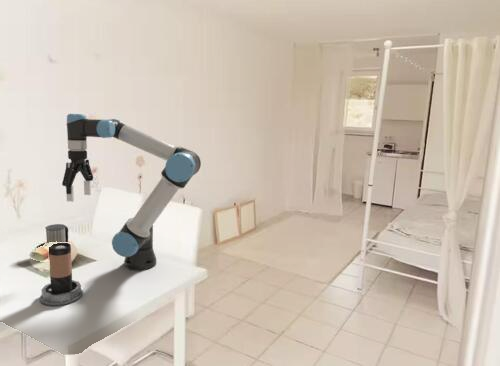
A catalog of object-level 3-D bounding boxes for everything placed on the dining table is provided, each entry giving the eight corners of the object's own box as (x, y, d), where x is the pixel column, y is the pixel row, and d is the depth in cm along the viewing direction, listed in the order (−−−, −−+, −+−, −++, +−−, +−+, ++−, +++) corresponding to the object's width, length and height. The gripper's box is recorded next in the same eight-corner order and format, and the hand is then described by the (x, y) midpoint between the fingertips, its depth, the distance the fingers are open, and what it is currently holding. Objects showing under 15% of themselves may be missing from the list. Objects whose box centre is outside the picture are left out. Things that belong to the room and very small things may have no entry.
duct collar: (87, 287, 156) (87, 279, 156) (75, 305, 142) (75, 296, 141) (49, 288, 155) (48, 279, 154) (33, 306, 140) (32, 296, 139)
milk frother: (64, 257, 187) (63, 229, 185) (29, 259, 183) (27, 229, 181) (70, 247, 201) (69, 221, 198) (38, 248, 197) (36, 221, 194)
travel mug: (76, 294, 148) (74, 246, 145) (55, 301, 143) (53, 251, 139) (67, 288, 153) (66, 241, 150) (47, 294, 148) (45, 245, 144)
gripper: (85, 147, 175) (86, 191, 179) (51, 152, 151) (53, 203, 154) (100, 148, 174) (101, 192, 178) (68, 153, 150) (70, 204, 153)
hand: (79, 197), depth 166 cm, fingers open, 13 cm apart
